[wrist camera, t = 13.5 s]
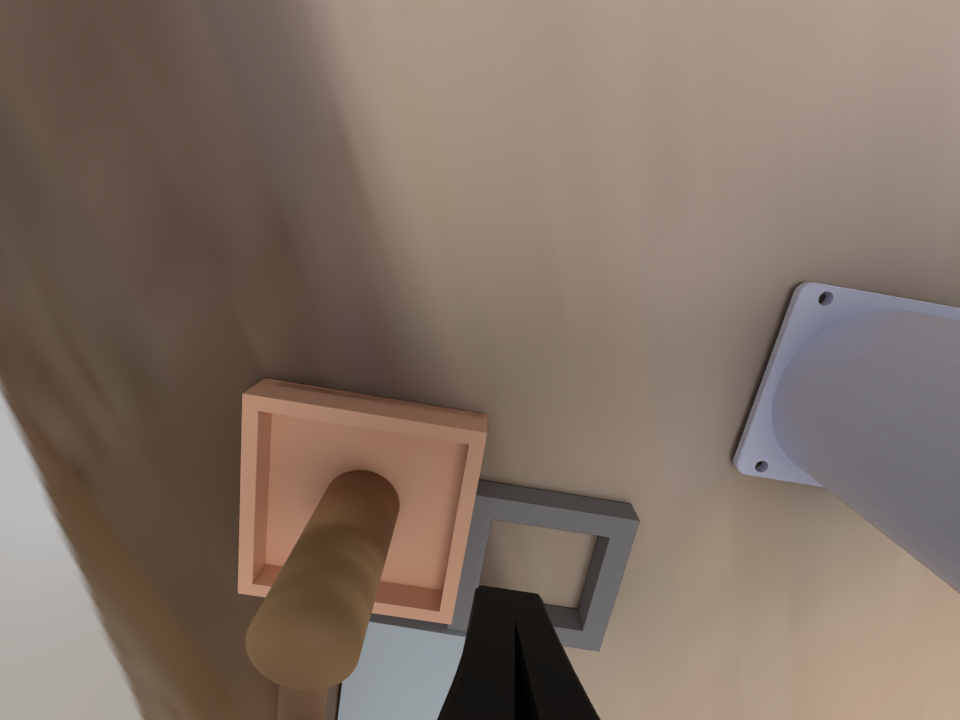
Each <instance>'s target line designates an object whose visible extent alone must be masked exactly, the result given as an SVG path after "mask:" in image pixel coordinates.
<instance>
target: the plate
mask: <svg viewBox="0 0 960 720" xmlns="http://www.w3.org/2000/svg"><path fill="white" fill-rule="evenodd" d="M447 625H448V624H443V623H436V622H429V621H423V620H416V619H409V618H402V617H395V616H389V615H382V614H375V613H371V617H370V621H369V624H368V628H367V632H366V636H365V639H364V643H363V647H362V650H361V654H360V658H359V661H358V664H357V666H356V668H355V669H354V671H353V672H352V673H351V675H350V676H349V677H348V678H346V679H345V680H344V681H342V688H341V696H340V704H339V712H338V720H437V718H438V716H439V713H440V711H441V709H442V706H443V704H444V701H445V699H446V696H447V694H448V691H449V689H450V687H451V684H452V682H453V679H454V676H455V674H456V671H457V668H458V665H459V662H460V659H461V656H462V653H463V648H464V643H465V638H466V633H467V632H464V631H457V630H450V629H447Z"/></svg>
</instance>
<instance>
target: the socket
mask: <svg viewBox="0 0 960 720" xmlns="http://www.w3.org/2000/svg"><path fill="white" fill-rule="evenodd" d="M492 519H493V520H500V521H506V522H513V523H519V524H526V525H532V526H539V527H545V528H551V529H558V530H564V531H571V532H577V533H584V534H590V535H597V536H599V537H598V540H597V544H596V547H595V551H594V554H593V558H592V561H591V565H590V568H589V572H588V575H587V579H586V582H585V586H584V590H583V593H582V597H581V600H580V604H579V607H578V610H577V609H570V608H564V607H557V606H550V605H544V606H545V608H546V611H547V613H548V615H549V618H550V620H551V622H552V625H553V627H554V629H555V631H556V633H557V636H558V638H559V640H560V642H561V644H562V646H566V647H573V648H580V649H586V650H593V651H600V647H601V644H602V641H603V638H604V635H605V631H606V628H607V625H608V622H609V618H610V615H611V612H612V609H613V606H614V602H615V599H616V596H617V593H618V589H619V586H620V583H621V580H622V577H623V573H624V570H625V567H626V564H627V560H628V557H629V554H630V551H631V548H632V544H633V541H634V538H635V535H636V531H637V528H638V525H639V522H640V520H639V519H638V517H637V515H636V513H635V511H634V509H633V507H632V505H631V504H628V503H621V502H615V501H609V500H602V499H596V498H590V497H583V496H577V495H571V494H564V493H558V492H552V491H545V490H539V489H532V488H526V487H520V486H513V485H507V484H501V483H494V482H488V481H482V480H479V481H478V486H477V491H476V497H475V502H474V507H473V513H472V518H471V523H470V528H469V534H468V539H467V544H466V550H465V555H464V560H463V565H462V571H461V576H460V581H459V587H458V592H457V597H456V602H455V608H454V613H453V618H452V624H451V625H450V624H448V625H447V629H450V630H457V631H464V632H467V628H468V623H469V618H470V613H471V608H472V603H473V598H474V593H475V589H476V588H478V586H479V581H480V576H481V571H482V566H483V562H484V557H485V552H486V547H487V542H488V537H489V532H490V527H491V522H492Z"/></svg>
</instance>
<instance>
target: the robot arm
mask: <svg viewBox="0 0 960 720" xmlns="http://www.w3.org/2000/svg"><path fill="white" fill-rule="evenodd" d="M824 292H825V294H826V297H825V299H824V301H823V302H822V303H819V301H818V300H819V296H820V295H821V294H822V293H824ZM760 461H763V462H762V464H761V466H759V467H755V465H756V464H757V463H758V462H760ZM733 464H734V467H735V468H736V469H737V470H738V471H739V472H740V473H742V474H744V475H750V476H756V477H762V478H768V479H774V480H781V481H787V482H793V483H799V484H805V485H812V486H818V487H824V488H826V489H827V490H828V491H830V492H831V493H832V494H834V495H835V496H836V497H837V498H839V499H840V500H841V501H842V502H844V503H845V504H846V505H848V506H849V507H850V508H851V509H853V510H854V511H855V512H856V513H858V514H859V515H860V516H862V517H863V518H864V519H865V520H867V521H868V522H869V523H870V524H872V525H873V526H874V527H876V528H877V529H878V530H879V531H881V532H882V533H883V534H884V535H886V536H887V537H888V538H890V539H891V540H892V541H893V542H895V543H896V544H897V545H898V546H900V547H901V548H902V549H904V550H905V551H906V552H907V553H909V554H910V555H911V556H912V557H914V558H915V559H916V560H918V561H919V562H920V563H921V564H923V565H924V566H925V567H926V568H928V569H929V570H930V571H932V572H933V573H934V574H935V575H937V576H938V577H939V578H940V579H942V580H943V581H944V582H946V583H947V584H948V585H949V586H951V587H952V588H953V589H954V590H956V591H957V592H958V593H960V308H959V307H953V306H947V305H942V304H936V303H930V302H924V301H919V300H913V299H907V298H902V297H896V296H890V295H885V294H879V293H873V292H867V291H862V290H856V289H850V288H845V287H839V286H833V285H827V284H822V283H816V282H804V283H802V284H800V285H799V286H798V287H797V288H796V289H795V291H794V293H793V296H792V298H791V301H790V304H789V307H788V309H787V312H786V315H785V318H784V321H783V323H782V326H781V329H780V332H779V334H778V337H777V340H776V343H775V345H774V348H773V351H772V354H771V357H770V359H769V362H768V365H767V368H766V370H765V373H764V376H763V379H762V381H761V384H760V387H759V390H758V392H757V395H756V398H755V401H754V404H753V406H752V409H751V412H750V415H749V417H748V420H747V423H746V426H745V428H744V431H743V434H742V437H741V440H740V442H739V445H738V448H737V451H736V453H735V456H734V459H733ZM437 720H600V718H599V716H598V715H597V713H596V711H595V709H594V707H593V706H592V704H591V702H590V700H589V698H588V696H587V694H586V692H585V690H584V688H583V686H582V685H581V683H580V681H579V679H578V677H577V675H576V673H575V671H574V669H573V667H572V665H571V663H570V661H569V659H568V657H567V655H566V653H565V651H564V648H563V646H562V644H561V642H560V640H559V638H558V636H557V633H556V631H555V629H554V627H553V625H552V622H551V620H550V618H549V615H548V613H547V611H546V608H545V606H544V603H543V601H542V599H541V597H540V596H539V595H538V594H535V593H528V592H522V591H515V590H508V589H502V588H495V587H488V586H480V587H478V588H476V589H475V593H474V598H473V603H472V608H471V613H470V618H469V623H468V628H467V633H466V638H465V643H464V648H463V653H462V656H461V659H460V662H459V665H458V668H457V671H456V674H455V676H454V679H453V682H452V684H451V687H450V689H449V691H448V694H447V696H446V699H445V701H444V704H443V706H442V709H441V711H440V713H439V716H438V718H437Z"/></svg>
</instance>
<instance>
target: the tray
mask: <svg viewBox="0 0 960 720" xmlns="http://www.w3.org/2000/svg"><path fill="white" fill-rule="evenodd" d="M487 433H488V414H484V413H478V412H472V411H466V410H459V409H453V408H447V407H441V406H435V405H429V404H422V403H416V402H410V401H404V400H398V399H392V398H385V397H379V396H373V395H367V394H361V393H355V392H348V391H342V390H336V389H330V388H324V387H318V386H311V385H305V384H299V383H293V382H287V381H281V380H274V379H268V378H264V379H263V380H261V381H260V382H258V383H257V384H256V385H254V386H253V387H251V388H250V389H248V390H247V391H245V392H244V393H243V394H242V437H241V480H240V524H239V567H238V593H239V594H246V595H253V596H260V597H266V596H267V594H268V592H269V590H270V589H271V587H272V585H273V583H274V581H275V580H276V578H277V576H278V574H279V573H280V571H281V569H282V567H283V566H284V564H285V562H286V560H287V558H288V557H289V555H290V553H291V551H292V550H293V548H294V546H295V544H296V543H297V541H298V539H299V537H300V535H301V534H302V532H303V530H304V528H305V527H306V525H307V523H308V521H309V520H310V518H311V516H312V514H313V512H314V511H315V509H316V507H317V505H318V504H319V502H320V500H321V498H322V497H323V495H324V493H325V491H326V489H327V488H328V486H329V484H330V483H331V482H332V481H333V480H334V479H335V478H336V477H338V476H339V475H341V474H343V473H346V472H349V471H354V470H366V471H371V472H374V473H377V474H379V475H381V476H382V477H384V478H385V479H387V480H388V481H389V482H390V483H391V484H392V485H393V487H394V488H395V490H396V492H397V494H398V497H399V501H400V509H399V513H398V517H397V521H396V524H395V528H394V532H393V536H392V539H391V543H390V547H389V550H388V554H387V558H386V561H385V565H384V569H383V573H382V576H381V580H380V584H379V587H378V591H377V595H376V599H375V602H374V606H373V610H372V613H375V614H382V615H389V616H395V617H402V618H409V619H416V620H423V621H429V622H436V623H443V624H450V625H451V624H452V618H453V613H454V608H455V602H456V597H457V592H458V587H459V581H460V576H461V571H462V565H463V560H464V555H465V550H466V544H467V539H468V534H469V528H470V523H471V518H472V513H473V507H474V502H475V497H476V491H477V486H478V481H479V476H480V470H481V465H482V460H483V454H484V449H485V444H486V439H487Z"/></svg>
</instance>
